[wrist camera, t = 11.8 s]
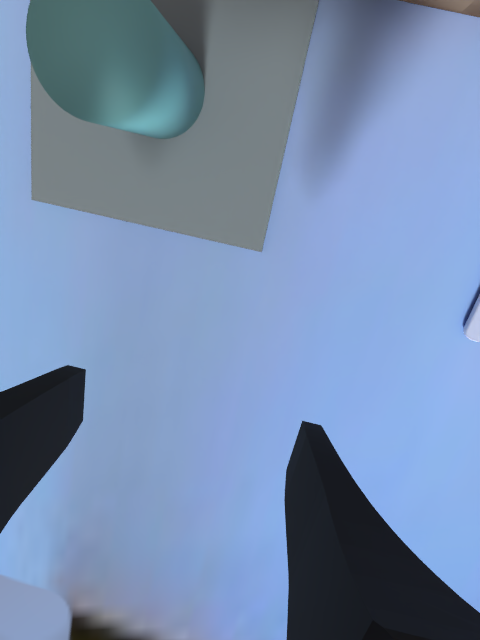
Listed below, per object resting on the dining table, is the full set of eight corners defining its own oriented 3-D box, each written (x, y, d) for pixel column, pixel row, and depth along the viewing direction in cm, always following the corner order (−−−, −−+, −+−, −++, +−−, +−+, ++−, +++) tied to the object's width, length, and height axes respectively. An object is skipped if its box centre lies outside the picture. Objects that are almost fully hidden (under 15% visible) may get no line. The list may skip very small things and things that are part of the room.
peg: (212, 47, 16) (170, -25, 10) (196, 148, 18) (150, 137, 12) (121, 25, 16) (26, -60, 10) (112, 127, 18) (25, 106, 12)
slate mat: (329, -47, 15) (330, -53, 15) (261, 250, 20) (261, 252, 19) (35, -109, 15) (29, -116, 15) (36, 199, 20) (31, 199, 19)
